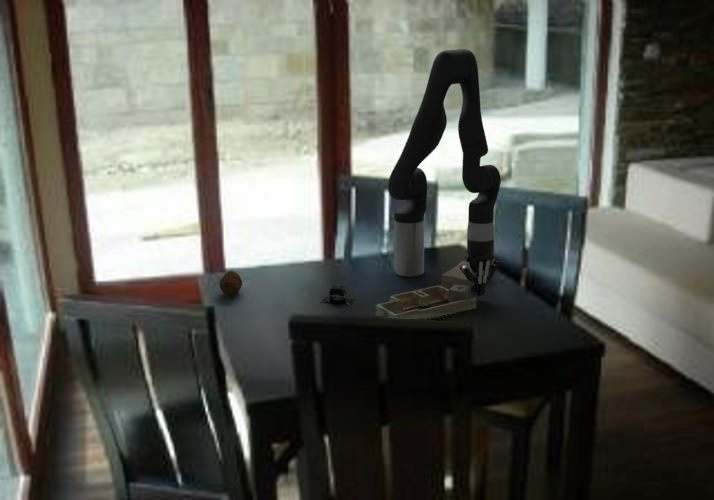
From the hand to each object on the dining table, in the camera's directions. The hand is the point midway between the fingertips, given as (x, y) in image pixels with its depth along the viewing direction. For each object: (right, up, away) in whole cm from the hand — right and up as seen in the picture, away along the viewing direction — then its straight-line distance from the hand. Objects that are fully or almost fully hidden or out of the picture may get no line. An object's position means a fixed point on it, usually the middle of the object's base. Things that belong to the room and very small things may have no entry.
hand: (479, 294), depth 235 cm
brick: (-2, +3, +16) cm, 16 cm away
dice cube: (-6, -3, -3) cm, 7 cm away
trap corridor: (-17, -4, -6) cm, 19 cm away
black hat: (-40, -3, +3) cm, 41 cm away
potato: (-72, -1, +10) cm, 73 cm away
